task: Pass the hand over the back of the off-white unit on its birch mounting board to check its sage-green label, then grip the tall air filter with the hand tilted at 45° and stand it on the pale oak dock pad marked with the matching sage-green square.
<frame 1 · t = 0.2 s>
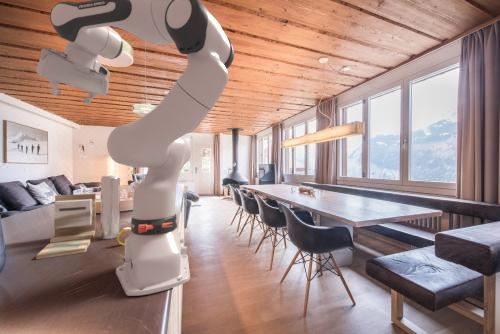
hand: (71, 100, 75), 52 cm above the kitchen island, tool tilted 20°, fingers open, 8 cm apart
dock pad: (66, 249, 73), on the kitchen island
air filter: (110, 237, 87), on the kitchen island
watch: (126, 244, 79), on the kitchen island
mounted unit: (74, 237, 86), on the kitchen island
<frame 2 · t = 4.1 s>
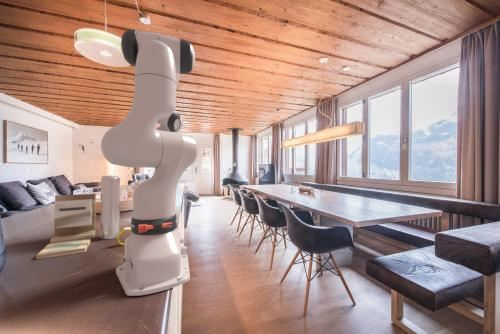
hand: (138, 157, 100), 33 cm above the kitchen island, tool tilted 45°, fingers open, 8 cm apart
nothing on the kitchen island moved.
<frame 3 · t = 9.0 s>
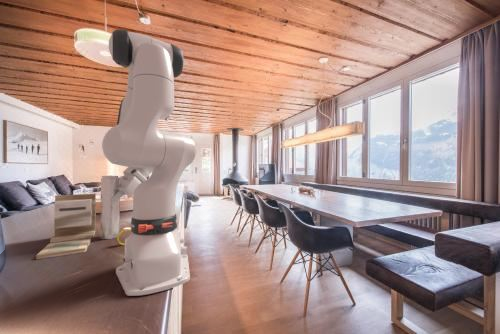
hand: (108, 200, 87), 15 cm above the kitchen island, tool tilted 45°, fingers closed on air filter, 6 cm apart
air filter: (110, 237, 87), on the kitchen island, touching gripper
everything else where it was.
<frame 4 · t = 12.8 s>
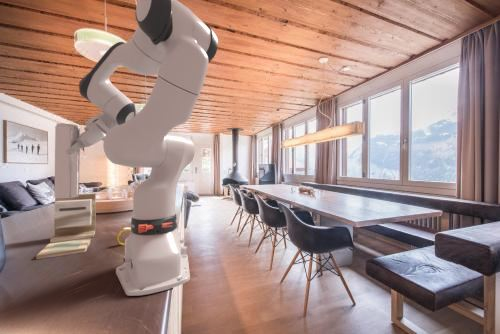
hand: (65, 153, 73), 33 cm above the kitchen island, tool tilted 45°, fingers closed on air filter, 6 cm apart
air filter: (67, 197, 74), point 18 cm above the kitchen island, touching gripper
everything else where it was.
when the fingers open (17 cm above the kitchen island, at t = 16.8 s): air filter drops 1 cm, resting on dock pad.
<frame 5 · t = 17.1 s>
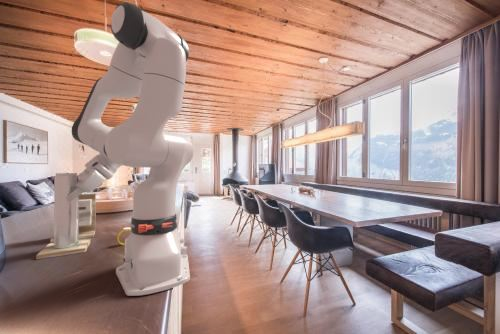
hand: (64, 198, 73), 18 cm above the kitchen island, tool tilted 45°, fingers open, 8 cm apart
air filter: (66, 245, 73), point 1 cm above the kitchen island, touching dock pad
everything else where it was.
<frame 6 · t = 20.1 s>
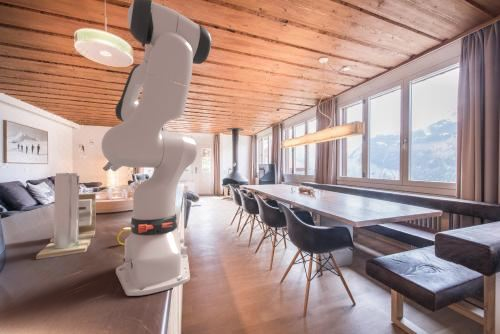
hand: (108, 170, 83), 27 cm above the kitchen island, tool tilted 45°, fingers open, 8 cm apart
nothing on the kitchen island moved.
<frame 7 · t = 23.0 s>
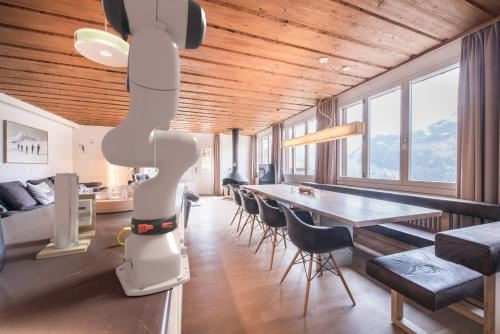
hand: (161, 143, 94), 39 cm above the kitchen island, tool pointing down, fingers open, 8 cm apart
nothing on the kitchen island moved.
at the end: air filter inside the target area on the dock pad (0.2 cm from its centre), point 1.1 cm above the dock pad's base; air filter tilted 0°; the gripper is holding nothing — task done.
